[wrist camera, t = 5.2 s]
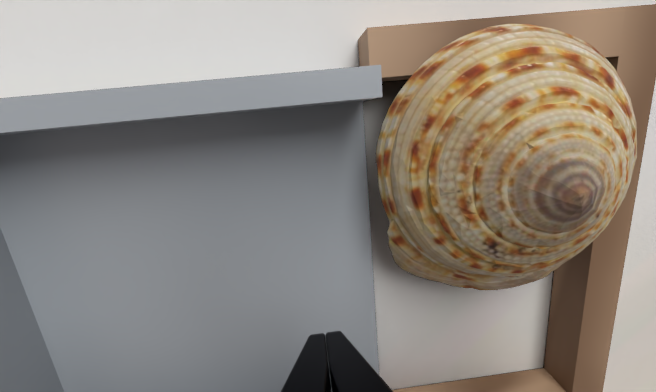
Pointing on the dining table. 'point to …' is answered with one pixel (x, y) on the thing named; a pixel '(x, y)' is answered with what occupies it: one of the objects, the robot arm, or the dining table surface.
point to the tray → (184, 232)
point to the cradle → (610, 246)
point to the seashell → (504, 157)
